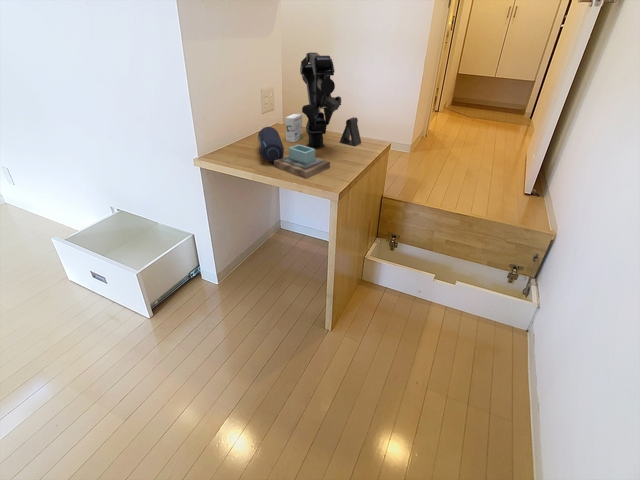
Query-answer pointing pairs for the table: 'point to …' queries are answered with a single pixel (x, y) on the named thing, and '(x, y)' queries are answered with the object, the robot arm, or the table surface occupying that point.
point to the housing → (302, 154)
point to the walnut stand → (302, 166)
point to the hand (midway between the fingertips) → (320, 126)
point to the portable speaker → (270, 144)
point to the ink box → (293, 127)
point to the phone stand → (351, 133)
